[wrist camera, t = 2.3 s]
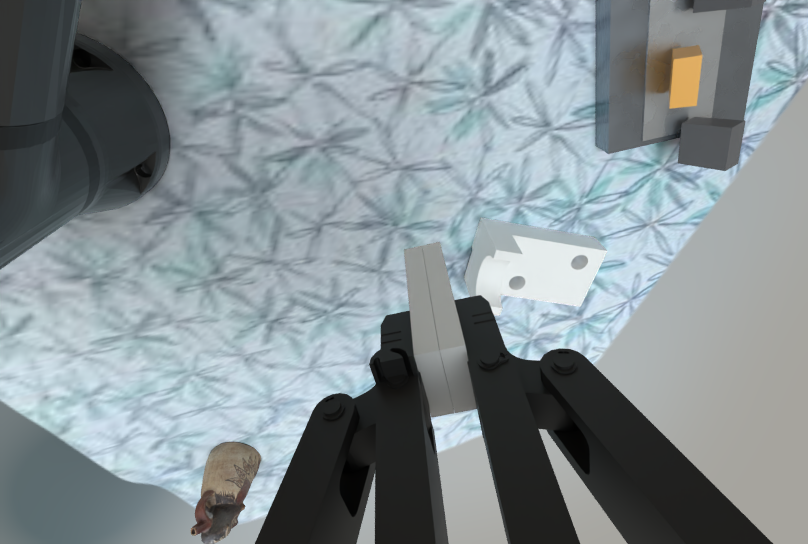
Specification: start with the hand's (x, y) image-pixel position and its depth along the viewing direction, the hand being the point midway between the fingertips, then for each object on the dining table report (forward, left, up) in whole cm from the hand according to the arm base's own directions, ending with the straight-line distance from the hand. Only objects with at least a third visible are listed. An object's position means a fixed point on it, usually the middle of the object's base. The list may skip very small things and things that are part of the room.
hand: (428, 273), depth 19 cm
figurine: (-34, -40, -27) cm, 59 cm away
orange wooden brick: (+24, 0, -23) cm, 33 cm away
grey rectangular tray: (+24, +4, -26) cm, 36 cm away
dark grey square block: (+24, -6, -23) cm, 34 cm away
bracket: (+10, -17, -27) cm, 33 cm away
